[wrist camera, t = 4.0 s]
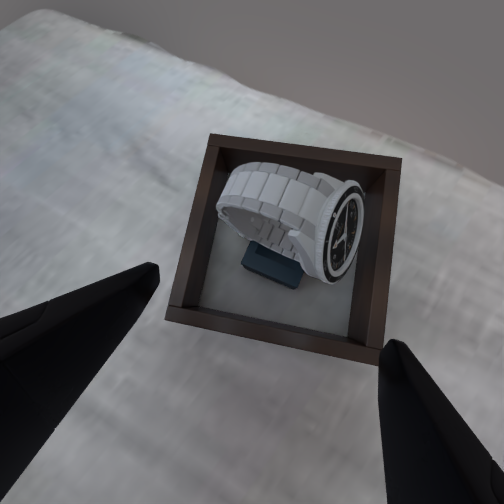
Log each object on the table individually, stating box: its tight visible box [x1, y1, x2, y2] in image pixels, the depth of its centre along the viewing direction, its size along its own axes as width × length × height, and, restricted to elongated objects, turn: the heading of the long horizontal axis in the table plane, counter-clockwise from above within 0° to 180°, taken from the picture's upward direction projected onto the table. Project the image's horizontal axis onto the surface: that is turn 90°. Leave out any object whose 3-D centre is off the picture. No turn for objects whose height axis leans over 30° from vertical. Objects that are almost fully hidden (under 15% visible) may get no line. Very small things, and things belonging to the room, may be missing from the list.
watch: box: [216, 162, 365, 290], centre depth 16 cm, size 6×8×11 cm
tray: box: [165, 133, 402, 366], centre depth 19 cm, size 14×14×4 cm
